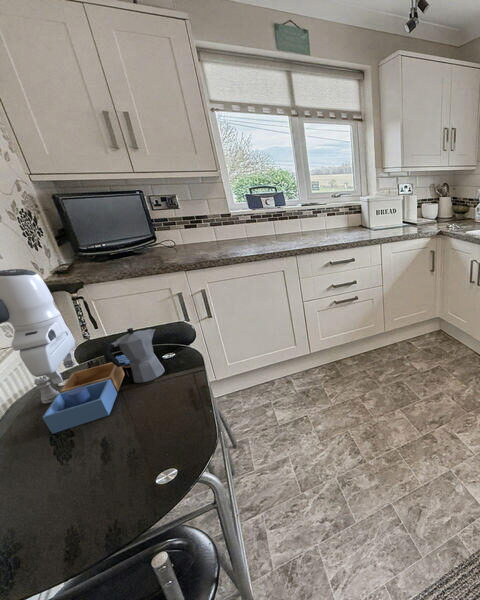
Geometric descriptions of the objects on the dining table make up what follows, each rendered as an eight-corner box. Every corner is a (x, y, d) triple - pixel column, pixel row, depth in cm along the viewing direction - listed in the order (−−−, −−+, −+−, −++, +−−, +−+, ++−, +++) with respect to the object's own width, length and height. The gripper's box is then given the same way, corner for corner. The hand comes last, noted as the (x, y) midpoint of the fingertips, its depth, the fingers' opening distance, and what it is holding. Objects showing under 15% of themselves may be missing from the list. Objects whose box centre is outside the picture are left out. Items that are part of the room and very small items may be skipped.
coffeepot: (162, 362, 120) (143, 318, 113) (177, 367, 115) (159, 321, 109) (113, 387, 107) (89, 338, 100) (127, 393, 103) (104, 343, 96)
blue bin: (52, 434, 88) (42, 417, 86) (66, 409, 98) (58, 393, 96) (109, 415, 93) (101, 399, 91) (117, 393, 103) (110, 378, 101)
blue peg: (76, 417, 93) (65, 396, 90) (80, 409, 96) (69, 389, 94) (94, 411, 95) (83, 391, 92) (97, 403, 98) (87, 384, 95)
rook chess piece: (59, 400, 103) (47, 378, 100) (40, 406, 100) (27, 384, 97) (63, 393, 106) (51, 372, 103) (44, 399, 104) (32, 378, 101)
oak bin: (68, 406, 99) (59, 391, 97) (79, 387, 109) (72, 373, 107) (118, 391, 104) (111, 376, 102) (124, 374, 114) (118, 360, 112)
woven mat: (149, 352, 128) (147, 348, 128) (141, 365, 119) (139, 360, 118) (117, 360, 125) (114, 355, 124) (106, 373, 115) (104, 369, 115)
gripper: (41, 319, 93) (62, 361, 98) (7, 348, 76) (35, 396, 81) (70, 314, 96) (89, 355, 100) (44, 340, 79) (68, 387, 84)
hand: (65, 374), depth 91 cm, fingers open, 8 cm apart
